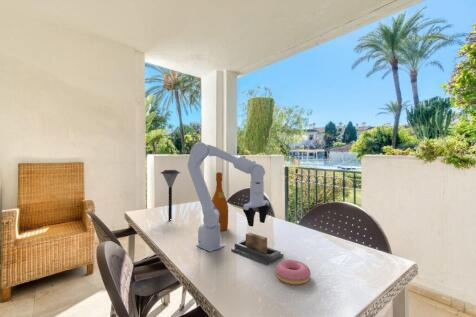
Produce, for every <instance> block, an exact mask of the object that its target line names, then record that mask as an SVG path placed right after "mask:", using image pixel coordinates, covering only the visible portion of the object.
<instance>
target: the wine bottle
mask: <svg viewBox="0 0 476 317" xmlns="http://www.w3.org/2000/svg"><path fill="white" fill-rule="evenodd" d="M215 181H216V187H215V190H214V191H215V192H214V194H213V196H212V197H211V200H212V202H213V204H214V206H215V208H216V209H217V210H218V211H219V214H220V215H219V223H220V232H224V231H226V230H227V229H228V227H229V205H228V200H227V198H226V197H225V192H224V191H223V184H222V183H223V173H222V172H220V171H218V172H216V173H215Z"/></svg>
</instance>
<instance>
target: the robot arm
mask: <svg viewBox="0 0 476 317" xmlns="http://www.w3.org/2000/svg"><path fill="white" fill-rule="evenodd" d="M207 157H217V158H220V159H221V160H224V161H227V162H229V163H231V164H232V166H233V167H234V169H236V170H238V171H240V172H243V173H244V174H247V175H249V174H250V188H249V202H247V203H245V204H243V209H242V211H243V213H244V215H245V217H246V221H247V225H248V227H252V228H253V227H254V223H255V216H256V212H257V211H258V217H259V222H260V223H262V224H264V223H266V222H265V221H266V218H267V214H268V212H269V211H270V209H271V207H270V200H266V199H265V198H264V196H265V195H264V190H265V189H264V188H265V185H264V184H265V182H264V179H265V178H264V177H265V175H266V171H265V168H264V166H263V165H261V164H258V163H257V162H256V161H255V160H253V161H252V160H251V159H249V158H247V156H246V155H238V156H235V155H232V154H230V153H228V152H227V151H225V150H223V149H221V148H219V147H218V146H214V145H211V144H205V143H204V142H201V141H199V142H196V143H194V145H193V146H192V148H191V149H190V151H189V157H188V161H187V164H186V165H187V169H188V172H189V174H190V178H191V180H192V183H193V186H194V189H195V192H196V194H197V195H196V196H197V198H198V199H199V200H198V201H199V203H200V205H201V211H202V215H203V219H202V220H203V221H202V222H203V223H202V224H200V226H199V227H198V231H197V243H196V246H197V247H199V248H201V249H204V250H206V251H208V252H212V251H215V250H218V249H221V248H224V247H225V245H224V244H222V243H221V231H220V223H219V215H220V214H219V211H218V210H217V209H216V208H215V206H214V204H213V202H212V197H211V194H210V192H209V189H208V186H207V183H206V181H205V178H204V175H203V172H202V169H201V165H202V163H203V161H204V160H205V159H206V158H207ZM255 208H257V210H254V209H255Z"/></svg>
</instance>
